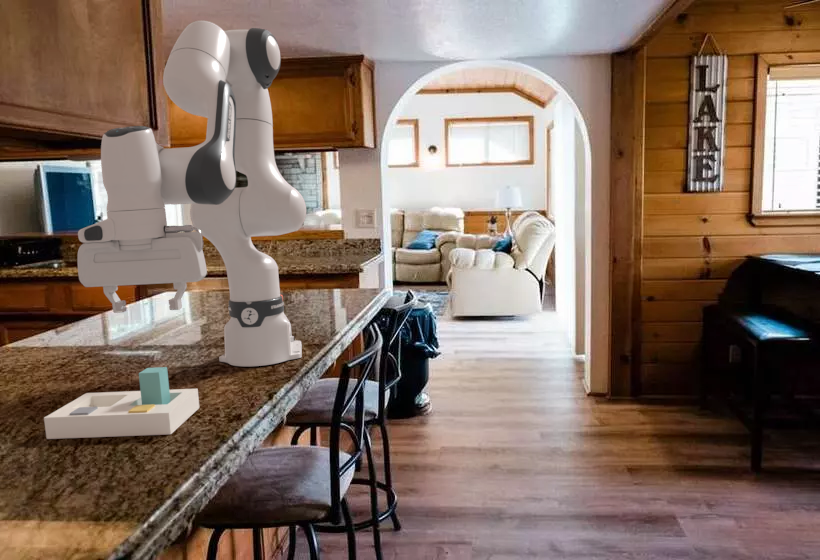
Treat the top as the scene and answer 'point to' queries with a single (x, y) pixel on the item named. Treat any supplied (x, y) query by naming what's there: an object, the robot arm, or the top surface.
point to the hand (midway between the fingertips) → (148, 310)
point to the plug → (154, 386)
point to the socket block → (120, 415)
